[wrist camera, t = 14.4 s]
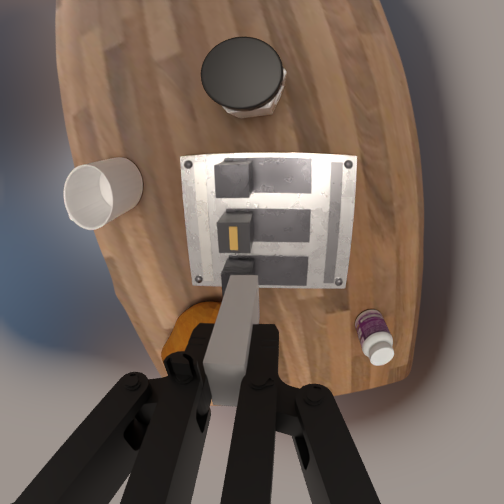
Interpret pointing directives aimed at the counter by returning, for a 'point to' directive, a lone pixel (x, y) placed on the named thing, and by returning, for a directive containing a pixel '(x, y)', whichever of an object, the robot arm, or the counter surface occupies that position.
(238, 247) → the handle
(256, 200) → the panel
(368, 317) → the pill bottle
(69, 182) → the mug
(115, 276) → the counter surface
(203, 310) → the bread
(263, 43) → the jar
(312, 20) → the counter surface
